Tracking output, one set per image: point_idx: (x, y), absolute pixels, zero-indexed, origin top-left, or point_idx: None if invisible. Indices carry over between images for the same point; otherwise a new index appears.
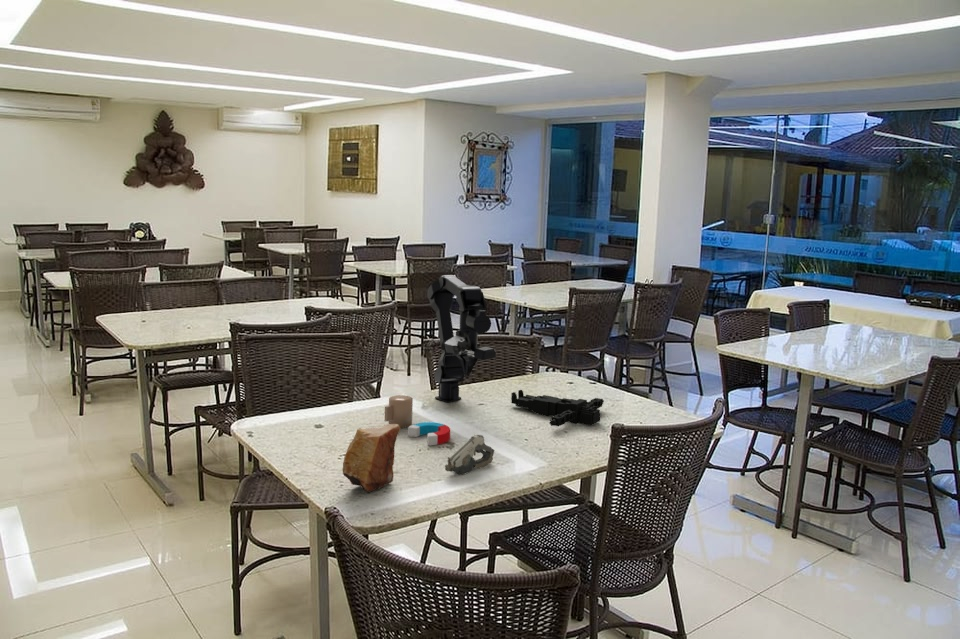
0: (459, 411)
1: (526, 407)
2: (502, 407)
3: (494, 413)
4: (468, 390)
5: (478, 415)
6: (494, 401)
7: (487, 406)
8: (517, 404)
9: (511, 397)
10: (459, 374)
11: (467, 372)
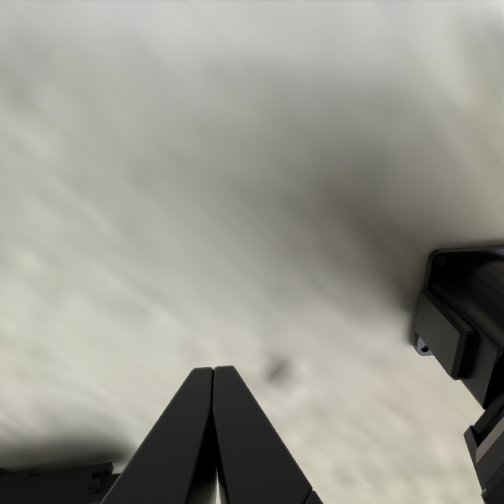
0: (262, 191)
1: (37, 479)
2: None
3: (102, 326)
4: None
5: (124, 231)
6: None
7: None
8: (103, 475)
9: None
10: (497, 450)
11: (166, 411)
